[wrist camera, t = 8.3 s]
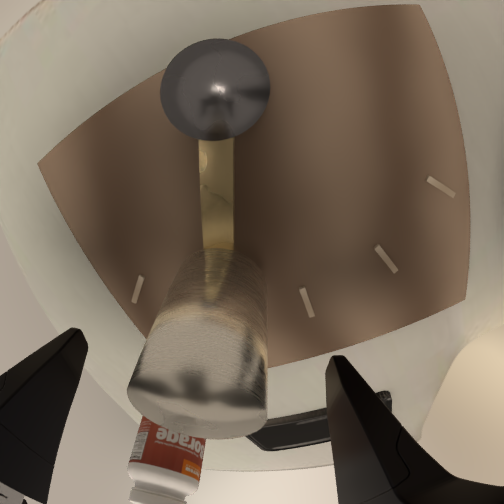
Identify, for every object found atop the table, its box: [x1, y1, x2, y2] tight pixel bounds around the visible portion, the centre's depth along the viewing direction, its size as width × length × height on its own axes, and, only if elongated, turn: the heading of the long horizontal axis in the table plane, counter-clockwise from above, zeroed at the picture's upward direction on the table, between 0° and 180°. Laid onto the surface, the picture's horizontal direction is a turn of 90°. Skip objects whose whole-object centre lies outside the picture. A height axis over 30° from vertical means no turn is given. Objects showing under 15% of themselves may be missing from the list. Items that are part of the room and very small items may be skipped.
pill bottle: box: [127, 416, 206, 504], centre depth 18 cm, size 6×6×11 cm
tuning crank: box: [127, 39, 270, 439], centre depth 8 cm, size 13×4×7 cm, turn 179°
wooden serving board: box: [37, 5, 470, 368], centre depth 13 cm, size 20×17×2 cm
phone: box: [246, 391, 392, 451], centre depth 24 cm, size 8×1×15 cm
